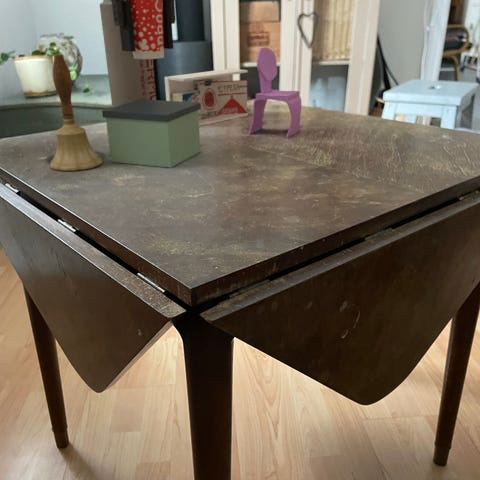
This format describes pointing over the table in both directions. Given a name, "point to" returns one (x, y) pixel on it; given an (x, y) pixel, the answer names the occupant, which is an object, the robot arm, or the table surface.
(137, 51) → the beverage cup
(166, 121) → the storage box
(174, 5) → the robot arm
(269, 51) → the toy chair
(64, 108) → the hand bell
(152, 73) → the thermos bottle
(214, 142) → the table surface
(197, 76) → the cigarette display
